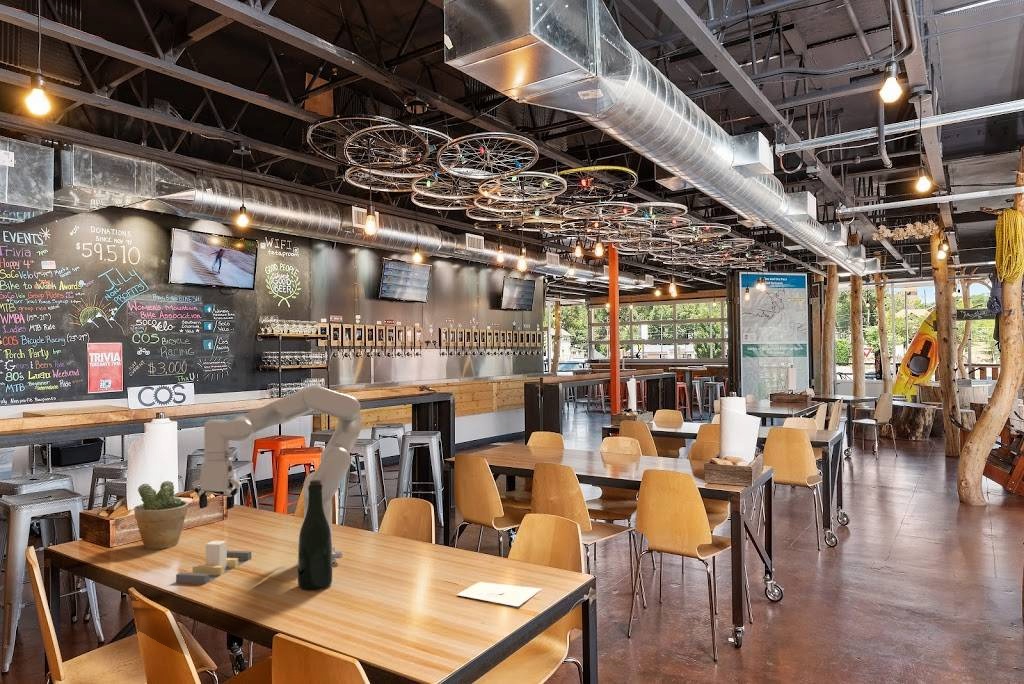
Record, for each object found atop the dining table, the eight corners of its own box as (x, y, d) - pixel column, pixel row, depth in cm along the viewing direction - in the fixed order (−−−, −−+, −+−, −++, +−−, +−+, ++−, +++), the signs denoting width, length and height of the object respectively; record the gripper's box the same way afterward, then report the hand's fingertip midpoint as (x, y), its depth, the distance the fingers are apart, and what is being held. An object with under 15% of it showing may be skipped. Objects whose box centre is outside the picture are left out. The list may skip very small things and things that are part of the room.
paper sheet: (449, 596, 191) (449, 592, 191) (502, 572, 215) (502, 568, 215) (515, 611, 178) (515, 607, 178) (563, 584, 203) (563, 580, 203)
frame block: (226, 568, 213) (226, 541, 213) (219, 572, 209) (219, 544, 209) (212, 567, 214) (213, 540, 214) (205, 571, 210) (205, 544, 210)
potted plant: (152, 538, 256) (153, 476, 256) (197, 538, 255) (198, 476, 256) (123, 552, 237) (123, 485, 238) (171, 552, 237) (172, 485, 237)
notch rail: (251, 562, 223) (251, 551, 224) (205, 588, 198) (205, 575, 198) (225, 561, 225) (225, 550, 225) (176, 587, 199) (176, 574, 199)
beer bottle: (339, 583, 202) (339, 479, 203) (313, 593, 193) (314, 484, 194) (316, 578, 207) (316, 476, 208) (290, 587, 198) (290, 481, 199)
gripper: (246, 455, 215) (247, 506, 214) (200, 454, 218) (200, 505, 217) (234, 458, 208) (234, 511, 207) (185, 458, 210) (185, 510, 210)
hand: (216, 507), depth 212 cm, fingers open, 9 cm apart
